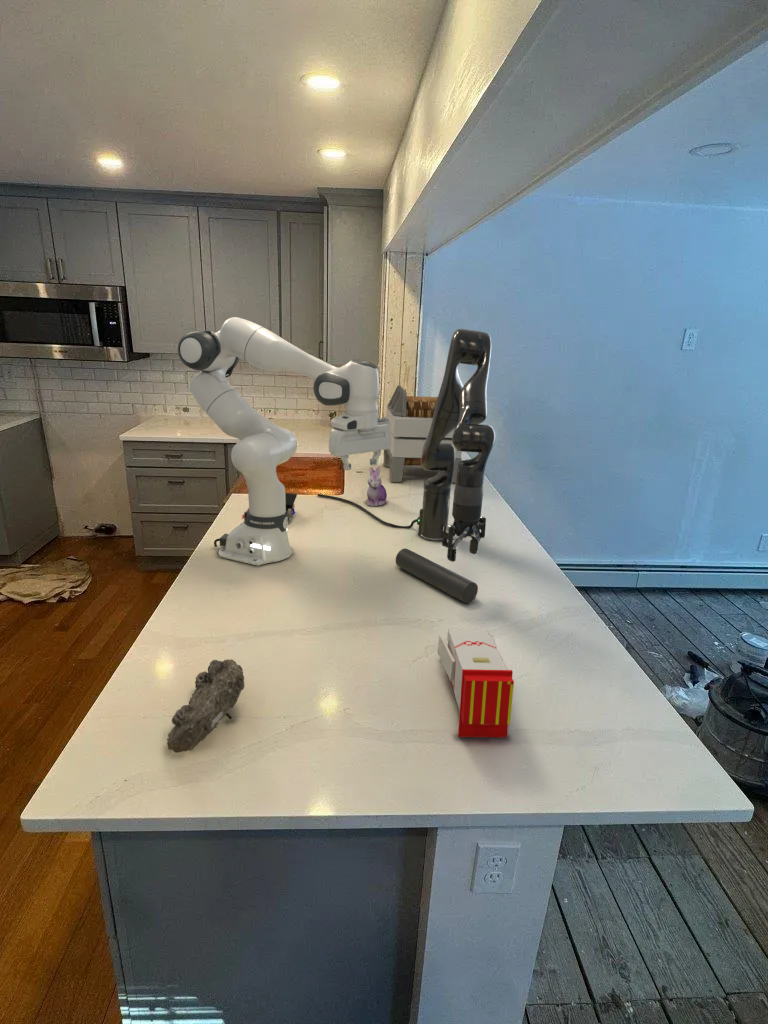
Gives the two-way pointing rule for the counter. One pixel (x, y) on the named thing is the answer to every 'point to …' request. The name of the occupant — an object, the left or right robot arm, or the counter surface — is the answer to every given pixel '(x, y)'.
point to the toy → (478, 682)
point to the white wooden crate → (410, 432)
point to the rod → (437, 575)
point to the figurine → (375, 489)
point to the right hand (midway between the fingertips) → (462, 556)
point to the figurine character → (290, 504)
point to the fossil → (206, 705)
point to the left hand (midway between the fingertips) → (360, 467)
